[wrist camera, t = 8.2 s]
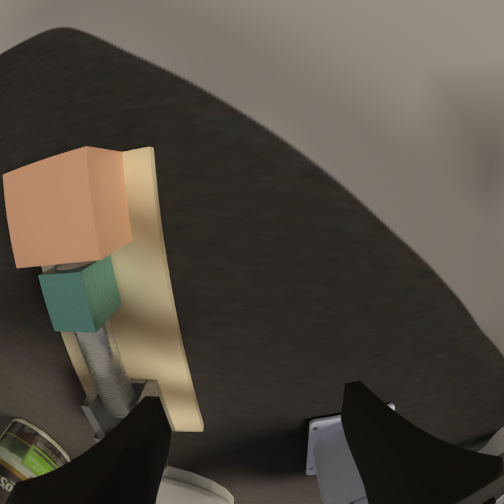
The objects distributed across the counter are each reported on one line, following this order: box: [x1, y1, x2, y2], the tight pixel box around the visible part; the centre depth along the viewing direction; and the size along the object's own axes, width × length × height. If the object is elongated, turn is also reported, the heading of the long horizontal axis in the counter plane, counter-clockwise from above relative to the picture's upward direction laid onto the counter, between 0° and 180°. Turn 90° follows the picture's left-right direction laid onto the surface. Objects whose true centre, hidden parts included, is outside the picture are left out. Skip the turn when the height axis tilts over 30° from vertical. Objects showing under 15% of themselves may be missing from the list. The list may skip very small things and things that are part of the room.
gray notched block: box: [81, 379, 176, 469], centre depth 18 cm, size 6×5×4 cm
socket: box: [3, 146, 133, 268], centre depth 14 cm, size 6×6×4 cm
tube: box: [38, 255, 138, 418], centre depth 16 cm, size 15×3×4 cm, turn 5°
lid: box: [156, 465, 234, 504], centre depth 24 cm, size 17×20×3 cm
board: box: [42, 147, 204, 432], centre depth 19 cm, size 22×10×1 cm, turn 5°
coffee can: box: [0, 418, 71, 504], centre depth 17 cm, size 10×10×14 cm
